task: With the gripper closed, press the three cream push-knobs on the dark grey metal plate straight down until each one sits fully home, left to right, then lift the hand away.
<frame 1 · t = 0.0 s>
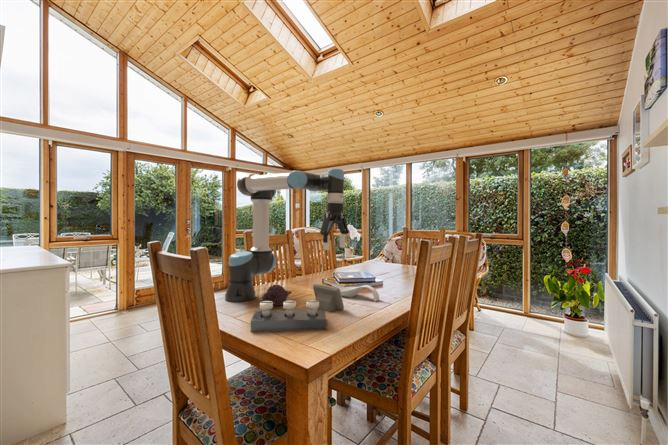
hand: (334, 248, 142), 28 cm above the table, tool pointing down, fingers open, 13 cm apart
left knob: (266, 309, 119), point 6 cm above the table, slide at 0.0 cm
pine cone: (275, 306, 147), on the table
middle knob: (289, 309, 120), point 6 cm above the table, slide at 0.0 cm
right knob: (312, 308, 121), point 6 cm above the table, slide at 0.0 cm
digital clock: (327, 308, 144), on the table
grey curved piece: (357, 298, 164), on the table
knob plate: (289, 325, 121), on the table
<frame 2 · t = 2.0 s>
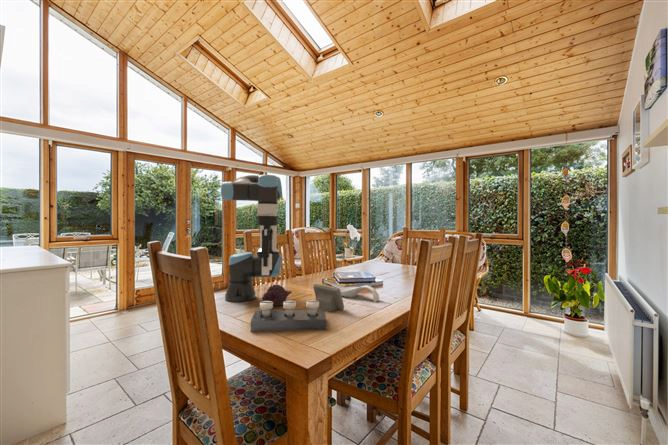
hand: (267, 272, 119), 21 cm above the table, tool pointing down, fingers open, 10 cm apart
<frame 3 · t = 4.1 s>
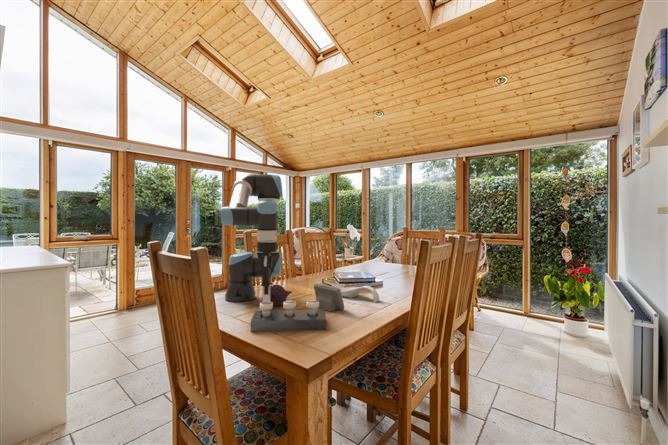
hand: (266, 302, 119), 9 cm above the table, tool pointing down, fingers closed
left knob: (266, 309, 119), point 6 cm above the table, slide at 0.2 cm, touching gripper
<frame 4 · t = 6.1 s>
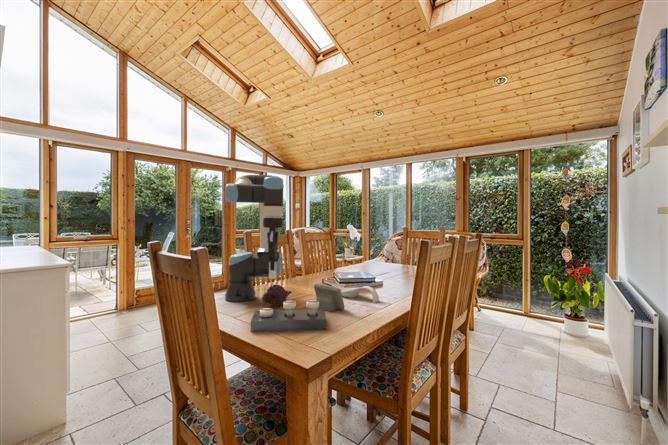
hand: (272, 278, 119), 19 cm above the table, tool pointing down, fingers closed
left knob: (266, 316, 119), point 4 cm above the table, slide at 2.8 cm
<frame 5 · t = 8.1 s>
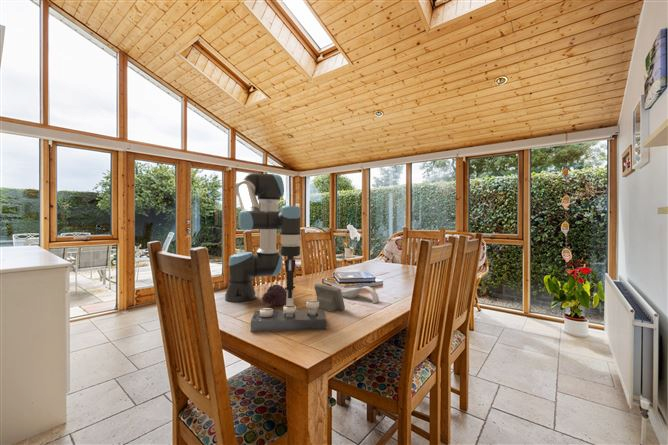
hand: (289, 305, 120), 8 cm above the table, tool pointing down, fingers closed
middle knob: (289, 313, 120), point 5 cm above the table, slide at 1.7 cm, touching gripper
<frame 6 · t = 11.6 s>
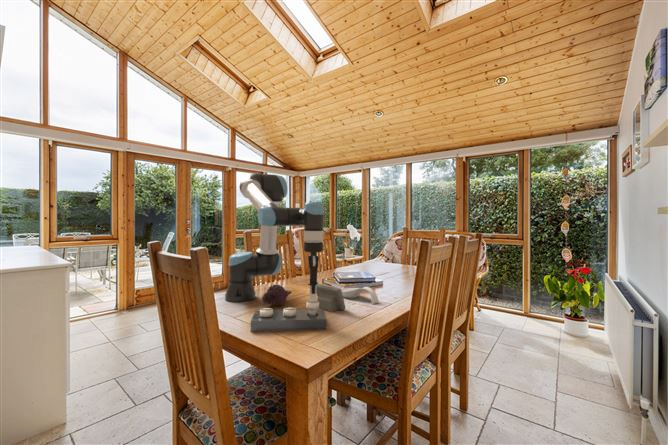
hand: (313, 301, 121), 9 cm above the table, tool pointing down, fingers closed
middle knob: (289, 316, 120), point 4 cm above the table, slide at 2.8 cm
right knob: (312, 308, 121), point 6 cm above the table, slide at 0.2 cm, touching gripper
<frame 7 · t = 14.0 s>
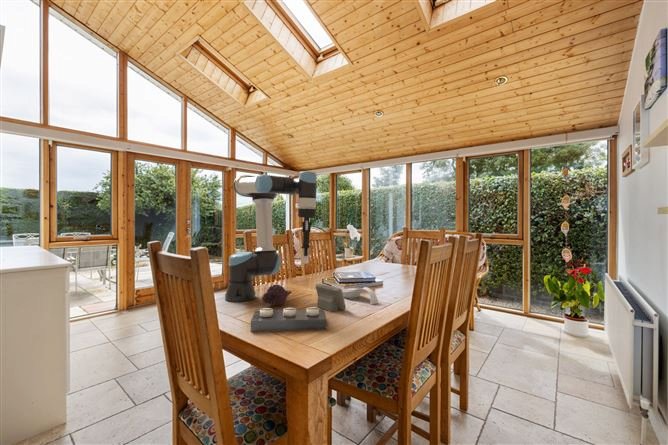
hand: (305, 263, 132), 23 cm above the table, tool pointing down, fingers closed
right knob: (312, 315, 121), point 4 cm above the table, slide at 2.8 cm
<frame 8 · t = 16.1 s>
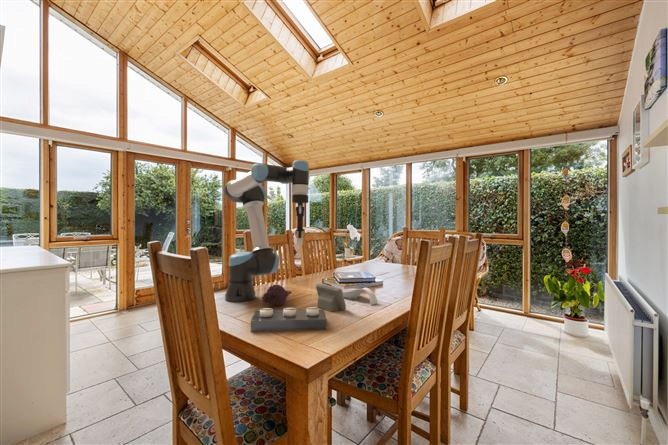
hand: (299, 245, 143), 29 cm above the table, tool pointing down, fingers closed
at the end: left knob slide at 2.8 cm; middle knob slide at 2.8 cm; right knob slide at 2.8 cm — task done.
